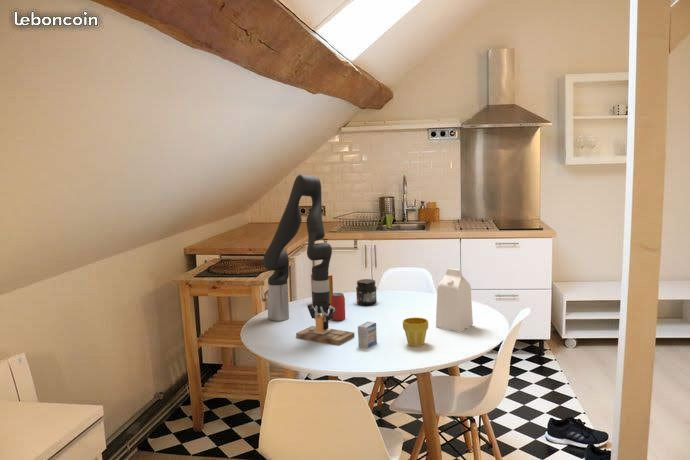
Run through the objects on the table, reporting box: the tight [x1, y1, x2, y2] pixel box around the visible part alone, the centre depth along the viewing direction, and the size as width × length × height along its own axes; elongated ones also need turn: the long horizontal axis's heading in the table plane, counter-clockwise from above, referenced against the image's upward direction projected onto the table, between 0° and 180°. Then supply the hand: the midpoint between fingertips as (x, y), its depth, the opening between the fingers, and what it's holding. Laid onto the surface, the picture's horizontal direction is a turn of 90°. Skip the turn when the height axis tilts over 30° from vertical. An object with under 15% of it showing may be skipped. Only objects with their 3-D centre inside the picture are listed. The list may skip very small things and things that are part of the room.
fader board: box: [295, 325, 355, 346], centre depth 261 cm, size 22×12×2 cm, turn 58°
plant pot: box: [402, 316, 429, 347], centre depth 248 cm, size 10×10×10 cm
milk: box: [435, 267, 474, 332], centre depth 269 cm, size 12×12×26 cm
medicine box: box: [357, 321, 378, 349], centre depth 249 cm, size 8×4×9 cm, turn 148°
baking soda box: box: [310, 273, 334, 305], centre depth 314 cm, size 10×6×16 cm
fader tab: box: [314, 314, 332, 335], centre depth 261 cm, size 5×6×7 cm
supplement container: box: [355, 278, 378, 307], centre depth 313 cm, size 10×10×12 cm
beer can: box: [331, 292, 346, 322], centre depth 287 cm, size 7×7×12 cm
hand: (322, 328), depth 261 cm, fingers closed on fader tab, 3 cm apart
